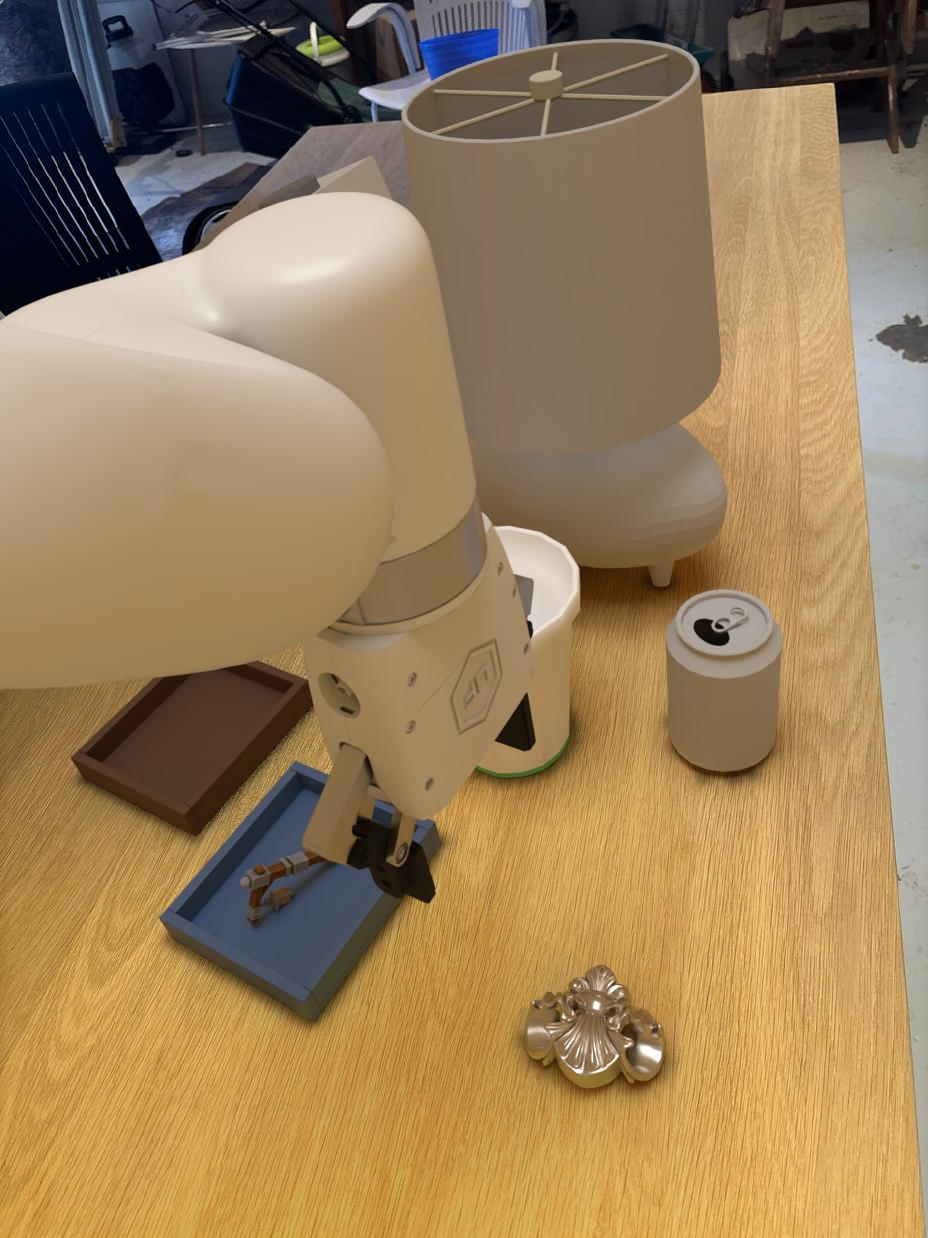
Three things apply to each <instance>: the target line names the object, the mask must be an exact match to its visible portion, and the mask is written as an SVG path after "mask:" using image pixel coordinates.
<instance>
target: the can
mask: <svg viewBox="0 0 928 1238" xmlns="http://www.w3.org/2000/svg"><path fill="white" fill-rule="evenodd" d="M783 643H784V635H783V632H782V630H781V627H780V624H779V623H778V622H777V621H776V619H775V618H774V617H773V613H772V610H771V609H770V608H769V607H768V606H767V605H766V603H765V602H764V601H763V600H761V599H759V598H757V597H756V596H754V595H753V594H750V593H748V592H743V591H740V590H737V589H736V590H735V589H723V588H721V589H713V590H707V591H703V592H701V593H698V594H695V595H693V596H691V597H690V598H688V599H687V600H686V601H684V602H683V604H682V605H681V606H680V607H679V609H678V610H677V612H676V614H675V616H674V617H673V618H672V620H671V621H670V623H669V625H668V626H667V630H666V635H665V657H666V658H665V660H666V688H667V690H666V691H667V711H668V712H667V714H668V715H667V717H668V732H669V738H670V742H671V744H672V745H673V747H674V749H675V750H676V751H677V753H678V754H679V755H680V756H681V757H683V758H684V759H685V760H686V761H688V762H689V763H690V764H692V765H694V766H698V767H699V768H702V769H705V770H709V771H717V772H721V773H722V772H723V773H725V772H733V771H735V772H736V771H742V770H745V769H747V768H750V767H752V766H755V765H757V764H758V763H760V762H761V761H762V760H764V759H765V758H766V757H767V756H769V754H770V752H771V751H772V749H773V747H774V745H775V744H776V736H777V727H778V713H779V700H780V698H779V697H780V685H781V684H780V683H781V670H782V657H783V656H782V655H783Z"/></svg>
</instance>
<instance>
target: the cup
mask: <svg viewBox="0 0 928 1238" xmlns="http://www.w3.org/2000/svg"><path fill="white" fill-rule="evenodd" d="M493 527H494V528H495V530H496V532H497V534H498V536H499V538H500V540H501V542H502V545H503V547H504V549H505V552H506V554H507V556H508V559H509V562H510V565H511V568H512V571H513V573H514V574H516V575H520V576H524V577H528V578H532V579H533V581H534V589H533V598H532V606H531V614H530V615H528V618H527V620H529V621H531V622H532V625H533V636H532V638H531V639H530V641H531V647H532V653H533V661H534V674H533V678H532V681H531V683H530V686H529V688H528V690H527V692H526V693H528V697H529V703H530V709H531V715H532V721H533V726H534V732H535V738H536V743H535V744H534V746H533V747H532V749H531V750H529V751H526V752H524V751H521V750H518V749H515V748H513V747H510V746H507V745H504V744H501V743H498V742H496V741H494V742H493V743H492V745H491V746H490V748H489V749H488V751H487V752H486V753H485V755H484V756H483V758H482V759H481V761H480V762H479V763H478V765H477V766H476V768H475V769H477V770H478V771H480V772H482V773H484V774H486V775H489V776H492V777H496V778H500V779H510V778H511V779H512V778H524V777H527V776H530V775H533V774H536V773H539V772H542V771H545V770H546V769H547V768H548V767H549V766H551V765H552V764H554V763H555V761H557V760H558V759H559V758H560V757H561V755H562V754H563V752H564V751H565V749H566V747H567V745H568V744H569V742H570V733H571V732H570V706H571V705H570V704H571V672H572V671H571V669H572V668H571V667H572V666H571V665H572V664H571V663H572V628H573V627H572V626H573V623H574V621H575V619H576V618H577V616H578V615H579V613H580V611H581V578H580V577H581V575H580V567H579V565H577V564H576V562H575V560H574V559H573V557H572V556H571V554H570V552H569V551H568V549H567V548H566V547H565V546H564V545H562V544H560V543H559V542H557V541H555V540H553V539H552V538H550V537H548V536H546V535H545V534H543V533H541V532H537V531H533V530H528V529H523V528H518V527H513V526H500V527H496V526H493Z"/></svg>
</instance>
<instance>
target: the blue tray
mask: <svg viewBox="0 0 928 1238" xmlns="http://www.w3.org/2000/svg"><path fill="white" fill-rule="evenodd" d="M329 775H330V774H328V773H325V772H324V771H321V770H318V769H317V768H314V767H311V766H309V765H307V764H306V763H302V762H301V761H298V760H294V761H293V763H292V764H291V765H290V766H289V768H287V770H286V771H285V772H284V773H283V774H282V776H281V777H280V778H279V779H278V780H277V781H276V782H275V783H274V784H273V786H272V787H271V788H270V789H269V790H268V792H267V793H266V794H265V795H264V796H263V798H261V800H260V801H259V802H258V803H257V804H256V806H254V808H253V809H252V810H251V811H250V812H249V813H248V815H246V817H245V818H244V819H243V821H241V823H240V824H239V825H238V826H237V827H236V828H235V829H234V831H233V832H232V833H231V834H230V835H229V837H228V838H227V839H226V840H225V841H224V842H223V843H222V845H220V847H219V848H218V849H217V850H216V852H215V853H214V854H213V855H212V856H211V857H210V858H209V859H208V861H207V862H206V863H205V864H204V865H203V866H202V868H201V869H200V870H199V871H198V872H197V874H196V875H195V876H194V877H193V878H192V879H191V880H190V881H189V883H188V884H187V885H186V886H185V887H184V889H182V891H181V892H180V893H179V894H177V896H176V897H175V898H174V900H173V901H172V902H171V903H170V904H169V906H167V908H166V909H164V911H163V912H162V913H161V914H160V916H159V917H158V919H159V920H160V922H161V923H162V926H163V927H164V928H165V929H166V932H167V933H168V935H170V937H171V938H172V939H173V940H175V941H176V942H178V943H180V944H181V945H183V946H185V947H187V948H188V949H190V950H192V951H193V952H195V953H196V954H199V955H200V956H202V957H203V958H204V959H207V960H208V961H210V962H212V963H214V964H215V965H217V966H218V967H220V968H222V969H224V970H225V971H226V972H229V973H230V974H232V975H234V976H235V977H237V978H239V979H241V980H242V981H244V982H246V983H247V984H249V985H251V986H252V987H254V988H256V989H257V990H259V991H261V992H263V993H264V994H266V995H268V996H269V997H271V998H273V999H274V1000H276V1001H278V1002H280V1003H281V1004H283V1005H285V1006H286V1007H288V1008H289V1009H291V1010H293V1011H294V1012H296V1013H298V1014H300V1015H301V1016H303V1017H305V1018H306V1019H308V1020H309V1021H311V1022H313V1023H315V1022H316V1020H318V1017H319V1016H320V1015H321V1013H322V1012H323V1011H324V1010H325V1008H326V1007H327V1005H328V1003H329V1002H330V1000H332V998H333V996H334V995H335V994H336V992H337V991H338V990H339V988H340V987H341V986H342V984H343V983H344V982H345V980H346V978H348V975H349V974H350V973H351V971H352V970H353V968H354V967H355V966H356V964H357V963H358V961H359V960H360V959H361V958H362V956H363V954H364V953H365V952H366V950H367V949H368V947H370V945H371V944H372V942H373V940H374V939H375V938H376V936H377V935H378V933H379V932H380V930H381V929H382V928H383V926H384V925H385V923H386V922H387V921H388V919H389V918H390V917H391V915H392V913H393V912H394V911H395V909H396V908H397V907H398V905H399V904H400V903H401V901H402V900H403V898H402V899H399V898H396V897H393V896H391V895H389V894H387V893H385V892H383V891H382V890H381V889H380V888H378V887H377V885H376V884H375V882H374V880H373V878H372V875H371V873H370V870H369V868H365V869H362V870H358V869H356V868H353V867H351V866H348V865H343V864H340V863H336V862H333V861H330V860H329V861H325V862H322V863H318V864H315V865H312V866H310V867H308V870H306V871H302V872H300V873H297V874H296V875H294V876H293V875H292V874H290V878H287V879H286V878H285V877H281V878H278V879H275V880H274V882H273V883H272V884H271V886H270V887H269V889H271V890H272V891H275V890H277V889H279V888H281V887H282V886H283V885H285V886H286V888H293V889H294V890H295V894H294V895H293V896H292V897H291V900H290V903H285V904H282V905H279V906H278V910H276V909H275V908H274V907H273V906H272V905H271V906H270V905H269V908H268V907H266V906H265V907H263V908H261V914H259V922H257V923H254V924H251V923H250V922H249V921H248V920H247V916H248V915H247V913H248V912H247V904H248V902H249V900H250V892H251V889H250V888H249V887H248V888H243V887H242V886H241V885H240V881H241V879H242V878H244V877H245V874H246V871H249V870H252V869H254V867H255V866H257V865H260V864H261V865H263V866H264V867H267V866H270V865H273V864H275V863H278V862H279V860H280V859H282V858H284V859H285V860H286V856H292V855H294V854H297V853H299V852H300V851H301V852H302V853H304V852H307V850H305V849H304V848H303V847H302V839H303V836H304V833H305V831H306V829H307V826H308V824H309V822H310V819H311V817H312V815H313V812H314V810H315V808H316V805H317V803H318V801H319V799H320V796H321V794H322V792H323V789H324V787H325V785H326V782H327V780H328V778H329ZM394 808H395V807H393V806H391V805H388V804H386V803H384V802H381V801H379V800H376V801H375V805H374V810H373V815H372V820H371V821H375V822H378V823H380V824H382V825H385V826H387V827H390V826H391V821H392V816H393V811H394ZM412 840H413V841H415V842H417V843H419V844H420V845H421V846H422V847H423V850H424V853H425V856H426V859H427V862H428V863H429V862H430V861H431V859H432V857H433V856H434V855H435V853H436V852H437V850H438V849H439V848H440V847H441V845H442V841H441V837H440V833H439V829H438V826H437V823H436V821H435V820H433V819H432V818H429V819H427V820H419V819H416V824H415V829H414V833H413V838H412ZM269 889H268V890H267V891H266V893H265V894H264V896H263V897H262V900H261V903H262V902H263V901H264V897H266V899H267V897H269ZM263 904H264V903H263Z"/></svg>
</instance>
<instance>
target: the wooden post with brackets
mask: <svg viewBox="0 0 928 1238" xmlns="http://www.w3.org/2000/svg"><path fill="white" fill-rule="evenodd" d="M325 861H329V860H327V859H325V858H323V857H320V856H318V855H316V854H314V853H312V852H310V851H307V852H304V853H302V852H301V851H300V852H299V853H297V854H294V855H292V856H286V860H285V859H284V858H282V859H280V860H279V862H278V863H275V864H273V865H270V866H267V867H264V866H263V865H261V864H260V865H257V866H255V867H254V869H252V870H249V871H246V874H245V877H244V878H242V879H241V881H240V885H241V886H242V887H243V888H248V887H249V888H250V889H251V892H250V900H249V902H248V904H247V912H248V913H247V915H248V916H247V920H248V921H249V922H250V923H251V924H254V923H257V922H259V914H261V908H263V907H265V906H266V907H268V908H269V905H270V906H271V905H272V906H273V907H274V908H275V909H276V910H278V906H279V905H282V904H285V903H290V900H291V897H292V896H293V895H294V894H295V890H294V889H293V888H286V886H285V885H283V886H282V887H281V888H279V889H277V890H275V891H272V890H271V889H269V887H270V886H271V884H272V883H273V882H274V880H275V879H278V878H281V877H285V878H286V879H287V878H290V874H292V875H293V876H294V875H296V874H297V873H300V872H302V871H306V870H308V867H310V866H312V865H315V864H318V863H322V862H325ZM268 889H269V897H267V899H266V897H264V901H263V902H262V903H261V900H262V897H263V896H264V894H265V893H266V891H267V890H268ZM263 903H264V904H263Z"/></svg>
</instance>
